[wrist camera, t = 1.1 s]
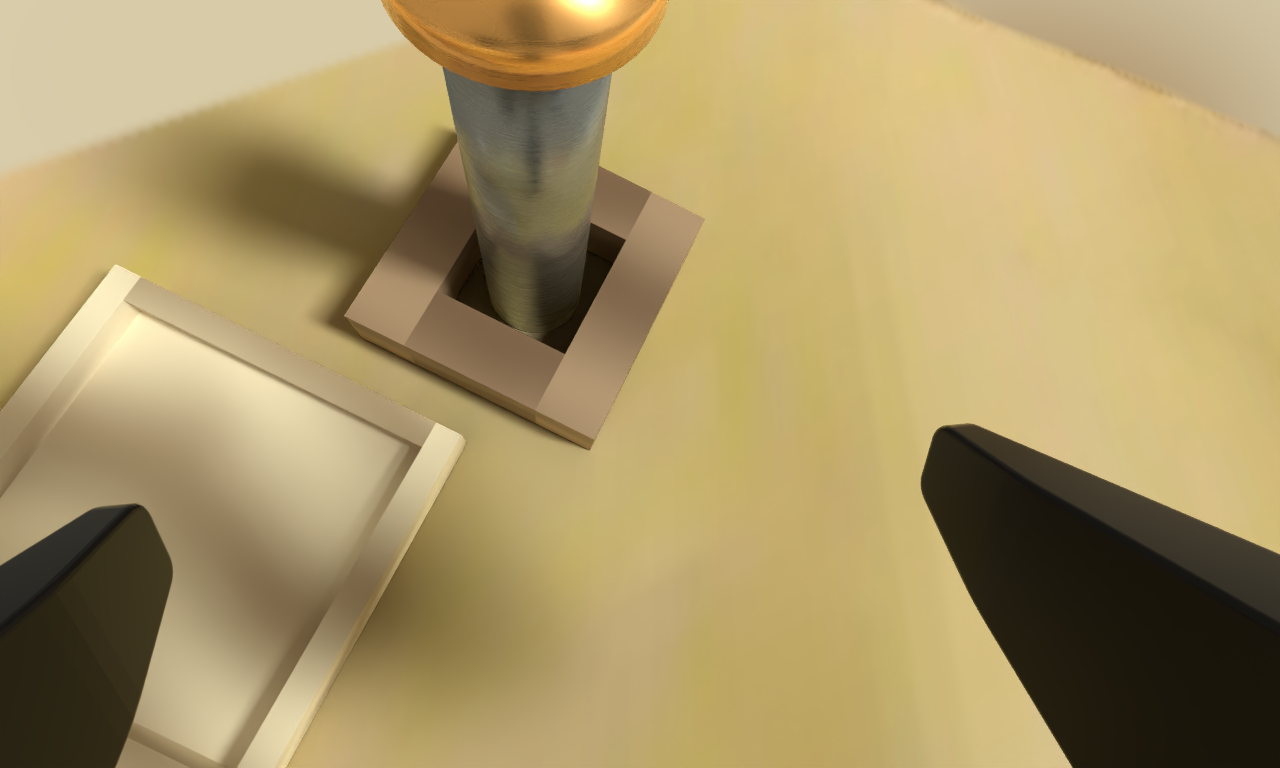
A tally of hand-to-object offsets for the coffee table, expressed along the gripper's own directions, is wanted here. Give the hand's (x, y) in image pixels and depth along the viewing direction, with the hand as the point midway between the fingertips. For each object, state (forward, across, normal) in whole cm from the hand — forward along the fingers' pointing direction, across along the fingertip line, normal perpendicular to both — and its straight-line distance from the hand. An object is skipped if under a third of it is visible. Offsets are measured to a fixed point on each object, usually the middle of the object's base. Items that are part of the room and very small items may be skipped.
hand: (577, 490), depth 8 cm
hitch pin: (+15, 0, +4) cm, 16 cm away
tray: (+10, +10, +9) cm, 17 cm away
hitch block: (+15, 0, +4) cm, 16 cm away
